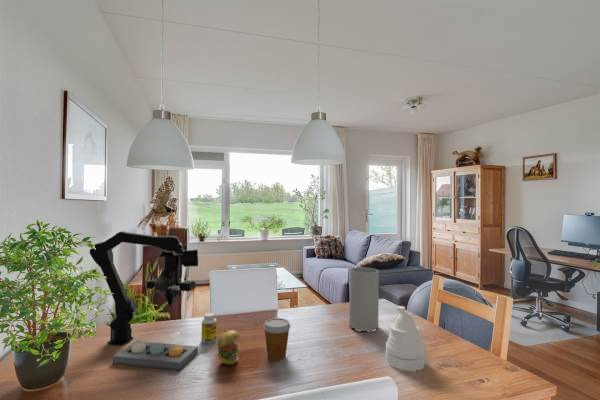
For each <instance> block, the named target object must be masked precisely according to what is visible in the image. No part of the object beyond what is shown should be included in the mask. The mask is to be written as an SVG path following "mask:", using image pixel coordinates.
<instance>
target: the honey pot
mask: <svg viewBox="0 0 600 400" xmlns="http://www.w3.org/2000/svg"><path fill="white" fill-rule="evenodd" d="M405 310H406V306H404V305H403V306H402V305H399V306H398V305H397V311H398V312H399V313H400V314H399V315H398V316H397V318H396V319H395V321H394V322H391V323H390V324H389V326H388V328H389V330H390V332H389V333H388V337H387V341H386V342H385V362H386V361H387V362H388V363H389V364H390V365H392V366H394V367H397V368H399V369H403V370H419V369H421V368H423V367H424V366H426V349H425V346H424V343H423V341H422V340H423V339H422V337H421V335H420V331H421V329H420V327H419V326H418V325H416V322H415V320H414V319H413V317H412V316H411V315H410V313H408V312H406V311H405ZM387 362H386V363H387ZM388 363H387V364H388ZM389 364H388V365H389ZM390 365H389V366H390ZM392 366H391V367H392ZM394 367H393V368H394ZM424 368H425V367H424ZM424 368H423V369H424ZM399 369H398V370H399ZM403 370H402V371H403ZM419 371H420V370H419Z"/></svg>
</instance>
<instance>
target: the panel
mask: <svg viewBox="0 0 600 400" xmlns="http://www.w3.org/2000/svg"><path fill="white" fill-rule="evenodd" d="M139 342H144V343H146V350H145V351H144V352H142V353H141V354H139V353H131V347H132V345H133V344H135V343H139ZM155 344H163V345H164V353H162V354H161V355H160V356H159V355H150V347H151V346H152V345H155ZM173 346H182V347H183V354H182V355H181V356H180V357H170V356H169V348H170V347H173ZM198 354H199V346H197V345H186V344H174V343H165V342H153V341H141V340H136V341H135V342H133V343H132V344H130V345H128V346H126V347H125V348H123V349H122V350H120V351H119V352H117V353H116V354H114V355H113V356H112V365H120V366H130V367H137V368H139V367H140V368H148V369H149V368H150V369H156V370H158V369H159V370H166V371H167V370H168V371H176V372H177V371H179V372H180V371H181V370H182V369H184V368H185V366H187V365H188V364H189V363H190V362H191V361H192V360H193V359H194V358H195V357H196V356H198Z"/></svg>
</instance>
